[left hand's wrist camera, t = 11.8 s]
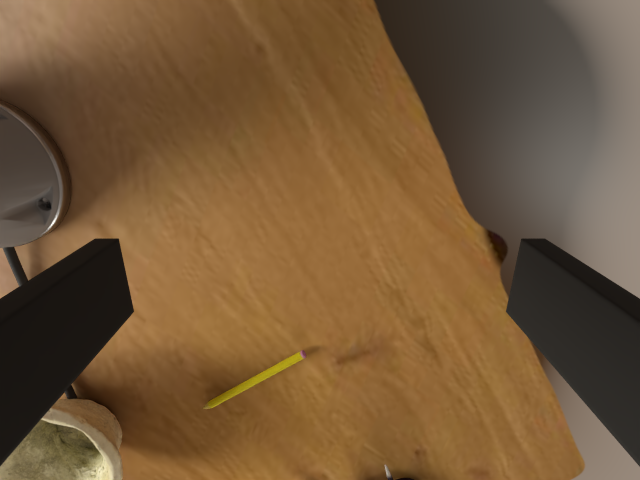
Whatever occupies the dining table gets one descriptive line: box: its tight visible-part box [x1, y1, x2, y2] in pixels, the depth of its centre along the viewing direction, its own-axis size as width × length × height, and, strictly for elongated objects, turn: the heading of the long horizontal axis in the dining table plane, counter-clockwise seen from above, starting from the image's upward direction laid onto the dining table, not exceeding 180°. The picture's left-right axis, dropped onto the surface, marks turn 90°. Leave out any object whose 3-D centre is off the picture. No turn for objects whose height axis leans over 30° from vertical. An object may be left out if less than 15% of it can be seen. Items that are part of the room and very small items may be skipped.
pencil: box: [202, 350, 306, 409], centre depth 48 cm, size 16×1×1 cm, turn 123°
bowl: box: [0, 399, 123, 480], centre depth 45 cm, size 14×18×15 cm
